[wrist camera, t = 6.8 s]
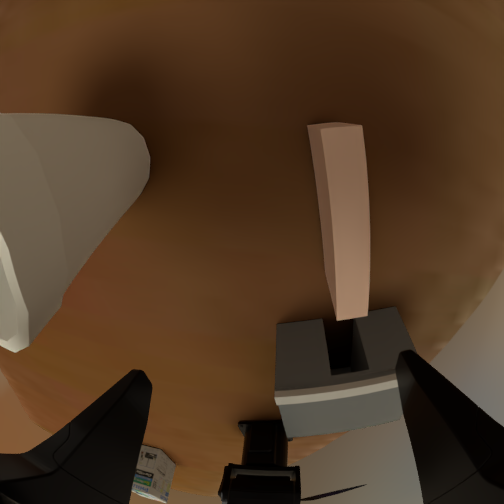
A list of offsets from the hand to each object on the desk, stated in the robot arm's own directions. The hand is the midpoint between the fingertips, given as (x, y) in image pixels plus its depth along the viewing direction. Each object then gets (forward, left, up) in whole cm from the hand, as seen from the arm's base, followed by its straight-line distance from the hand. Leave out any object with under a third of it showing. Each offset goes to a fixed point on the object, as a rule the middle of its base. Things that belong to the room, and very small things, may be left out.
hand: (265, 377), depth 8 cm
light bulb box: (-45, +31, -12) cm, 56 cm away
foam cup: (+7, +10, -12) cm, 17 cm away
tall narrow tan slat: (+2, -4, -11) cm, 12 cm away
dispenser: (-12, -4, -11) cm, 17 cm away
